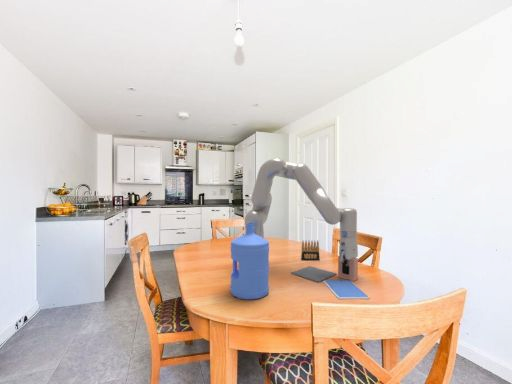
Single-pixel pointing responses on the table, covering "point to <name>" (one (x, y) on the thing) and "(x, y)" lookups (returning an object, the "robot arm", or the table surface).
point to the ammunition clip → (314, 252)
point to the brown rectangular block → (352, 269)
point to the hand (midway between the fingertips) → (347, 272)
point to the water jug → (250, 265)
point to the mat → (314, 274)
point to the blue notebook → (345, 289)
